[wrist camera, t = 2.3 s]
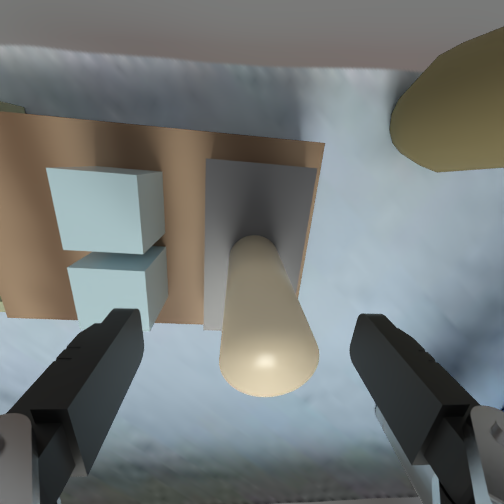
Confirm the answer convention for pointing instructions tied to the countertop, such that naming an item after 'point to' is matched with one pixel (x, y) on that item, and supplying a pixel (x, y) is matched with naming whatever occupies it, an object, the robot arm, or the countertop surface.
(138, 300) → the light blue block
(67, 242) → the pale blue cube
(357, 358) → the robot arm
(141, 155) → the flat wooden board
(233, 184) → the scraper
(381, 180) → the countertop surface
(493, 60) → the squeeze bottle
